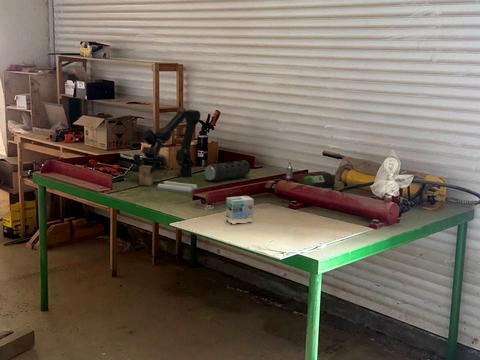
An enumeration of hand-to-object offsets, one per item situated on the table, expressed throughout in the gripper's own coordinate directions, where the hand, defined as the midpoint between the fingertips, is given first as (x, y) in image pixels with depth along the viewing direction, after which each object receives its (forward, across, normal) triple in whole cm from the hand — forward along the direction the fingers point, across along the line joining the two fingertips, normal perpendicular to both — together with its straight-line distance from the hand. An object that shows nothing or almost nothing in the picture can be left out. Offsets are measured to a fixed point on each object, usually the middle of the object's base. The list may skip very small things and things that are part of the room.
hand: (144, 172), depth 316 cm
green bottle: (-15, +83, +26) cm, 89 cm away
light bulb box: (+34, +70, -23) cm, 81 cm away
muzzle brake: (-20, +34, +32) cm, 51 cm away
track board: (+4, +19, +6) cm, 20 cm away
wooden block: (+4, 0, +6) cm, 7 cm away
